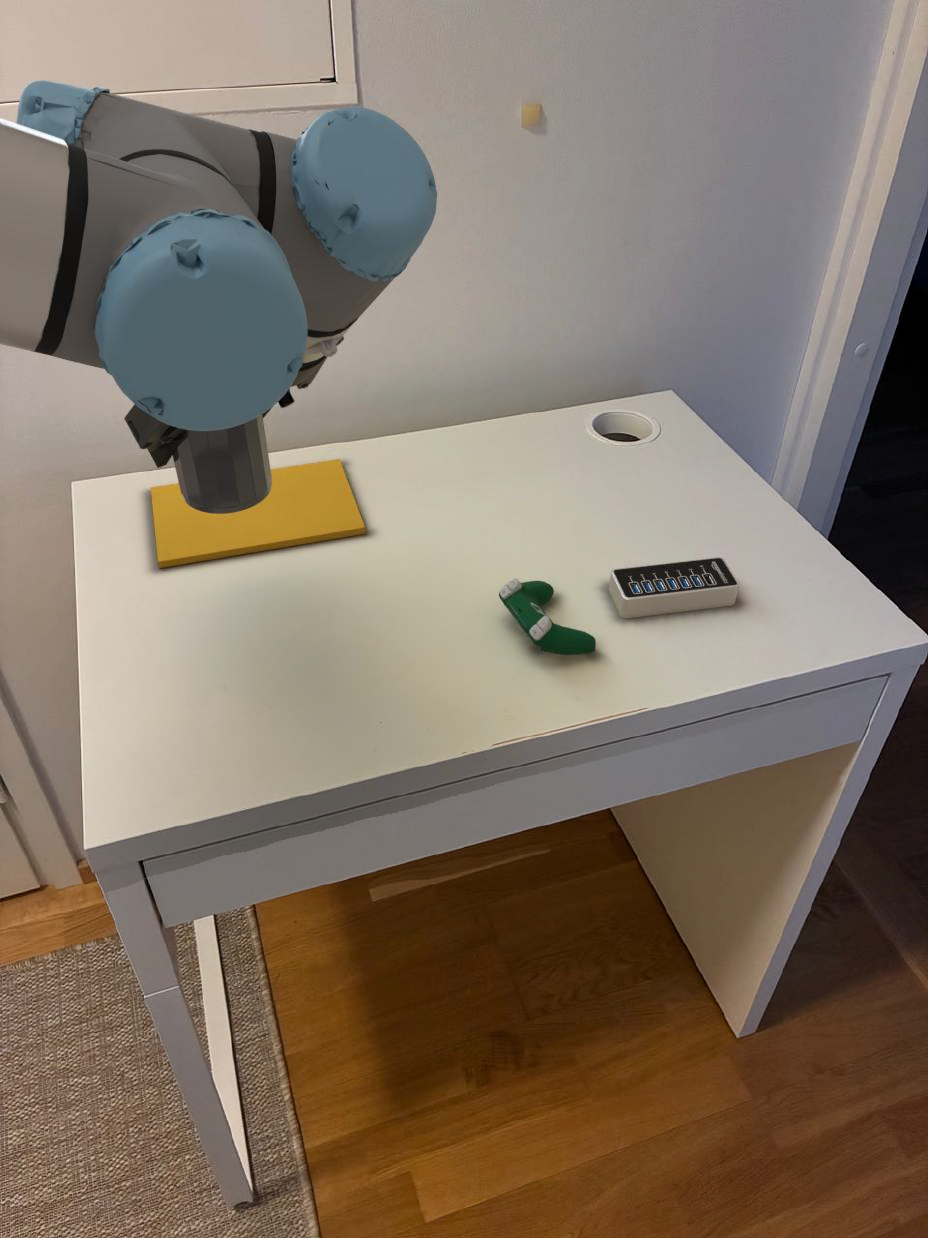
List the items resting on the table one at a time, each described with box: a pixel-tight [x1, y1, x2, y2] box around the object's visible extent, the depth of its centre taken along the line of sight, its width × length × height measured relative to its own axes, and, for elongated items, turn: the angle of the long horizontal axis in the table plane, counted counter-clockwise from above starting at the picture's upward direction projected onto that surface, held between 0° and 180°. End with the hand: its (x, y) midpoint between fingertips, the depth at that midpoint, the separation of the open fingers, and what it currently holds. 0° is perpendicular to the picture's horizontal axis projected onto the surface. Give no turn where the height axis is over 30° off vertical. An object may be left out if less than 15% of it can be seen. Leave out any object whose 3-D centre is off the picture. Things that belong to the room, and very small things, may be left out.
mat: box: [150, 458, 367, 569], centre depth 98 cm, size 20×13×1 cm, turn 107°
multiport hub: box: [608, 557, 740, 619], centre depth 88 cm, size 4×11×2 cm, turn 101°
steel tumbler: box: [172, 415, 272, 514], centre depth 77 cm, size 7×7×10 cm
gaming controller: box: [498, 577, 597, 656], centre depth 84 cm, size 9×4×6 cm
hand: (198, 434), depth 79 cm, fingers closed on steel tumbler, 7 cm apart
